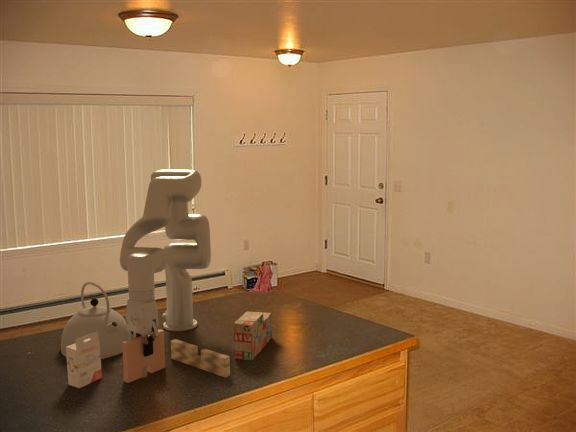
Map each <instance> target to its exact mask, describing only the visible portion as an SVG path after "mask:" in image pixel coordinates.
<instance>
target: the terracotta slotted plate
mask: <svg viewBox="0 0 576 432" xmlns="http://www.w3.org/2000/svg"><path fill="white" fill-rule="evenodd" d="M158 332H159V335H160V336H159V337H157V338H156V339H155V340H154V342H153V354H152V355H149V356H147V357H145V356H144V350H143V344H144V343H145V341H144V335H142V336H139V337H136V338H133V337H132V338H131V339H130V340H127V341H125V342H122V350H123V352H122V366H123V368H122V369H123V371H122V372H123V381H124V382H125V383H127V384H129V383H132V382H134V381H136V380H139V379H142V378H143V377H144V374H143V368H145V367H146V368H147V369H146V370H147V371H146V372H148V373H150V374H153V373H156V372H158V371H161V370H162V369H165V368H166V354H165V352H166V350H165V331H164V330H163V329H159V328H158ZM149 336H150V335H148V338H149Z"/></svg>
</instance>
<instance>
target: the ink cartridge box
mask: <svg viewBox="0 0 576 432" xmlns="http://www.w3.org/2000/svg"><path fill="white" fill-rule="evenodd" d="M86 338H88V339H86ZM90 338H91V339H90ZM75 342H76V343H75V344H72V345H70V346H67V347H66V357H65V358H66V369H67V370H66V371H67V379H68V386H72V387H74V388H77V389H80V388H83V387H85V386H88V385H90V384H92V383H94V382H97V381H98V380H101V379H102V378H103V376H102V375H103V374H102V372H103V371H102V359H101V355H100V341H99V336H98V332H97V331H96V332H94V333H91V334H88V335H86V336H83V337H81V338H78V339H76V340H75Z"/></svg>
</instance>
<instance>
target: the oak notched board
mask: <svg viewBox="0 0 576 432" xmlns="http://www.w3.org/2000/svg"><path fill="white" fill-rule="evenodd" d="M170 355H171V356H170V359H172V360H174V361H177V362H181V363H183V364H186V365H189V366H191V367H194V368H197V369H200V370H203V371H206V372H208V373H212V374H214V375H217V376H219V377H223V378H225V379H226V378H228V377H229V376H231V362H230V361H231V357H230V355H226V354H223V353H220V352H218V351H214V350H211V349H208V348H203V349H201V350H200V355H199V349H198V345H196V344H192V343H189V342H186V341H183V340H180V339H177V338H175V339H172V340H170Z"/></svg>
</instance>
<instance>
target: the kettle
mask: <svg viewBox="0 0 576 432" xmlns="http://www.w3.org/2000/svg"><path fill="white" fill-rule="evenodd" d="M88 285H91V286H94V287H96V288H98V289H99V291H100V292H101V293H102V294H103V296H104V299H105V303H106V306H104V305H98V304H99V299H98V298H96V297H93V298H92V299H91V300H90V301H89V303H90V305H91V306H88V307H87V306H86V303H85V298H84V294H85V293H84V292H85V288H86V286H88ZM80 301H81V305H82V308H83V309H80V310H78V312H77V313H75V314H74V315H73V316H72V317H70V319H69V320H68V321H67V322H66V324H65V325H64V328H63V330H62V334H61V339H60V342H61V343H60V347H61V348H60V351H61V352H60V353H61V354H62V356H64V357H65V358H67V357H66V347H67V346H70V345H72V344H75V343H76V342H75V340H76V339H78V338H81V337H83V336H86V335H88V334H91V333H94V332H96V331H97V332H98V336H99V341H100V355H101V360H103V359H107V358H111V357H114V356H118V355H120V354H123V350H122V342H125V341H127V340H130V339H132V337H131V331H130V330H128V329H127V327H126V318H124V317H123V316H122V315H121V314H120V313H119V312H117V311H116V310H114V309H112V308H110V301H109V297H108V294H107V292H105V290H104V288H103V287H101V286H100V285H99V284H98V283H96V282H93V281H87V282H85V283H84V284H83V285H82V287H81V291H80ZM86 339H88V338H86ZM90 339H91V338H90Z"/></svg>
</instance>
